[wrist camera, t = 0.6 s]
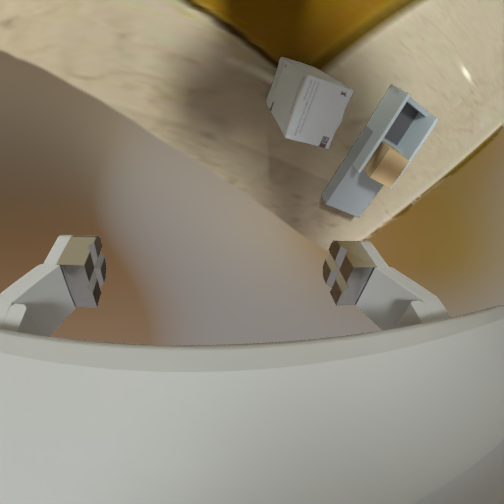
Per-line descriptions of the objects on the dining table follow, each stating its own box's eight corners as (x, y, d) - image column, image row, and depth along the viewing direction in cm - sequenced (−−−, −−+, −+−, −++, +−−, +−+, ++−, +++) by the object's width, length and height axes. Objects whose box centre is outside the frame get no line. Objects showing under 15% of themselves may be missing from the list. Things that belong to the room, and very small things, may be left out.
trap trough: (391, 84, 38) (408, 93, 34) (421, 108, 41) (438, 119, 37) (321, 195, 53) (329, 212, 49) (353, 208, 56) (363, 225, 52)
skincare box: (279, 55, 35) (306, 68, 24) (317, 67, 36) (357, 88, 26) (264, 104, 40) (281, 138, 30) (300, 114, 42) (330, 152, 31)
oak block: (378, 138, 42) (389, 148, 39) (398, 150, 44) (409, 161, 41) (360, 165, 46) (369, 177, 43) (380, 176, 48) (390, 188, 45)
